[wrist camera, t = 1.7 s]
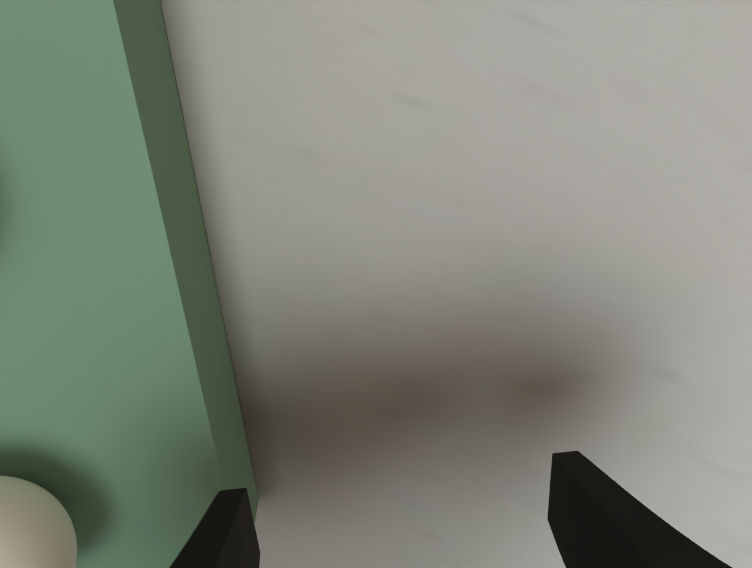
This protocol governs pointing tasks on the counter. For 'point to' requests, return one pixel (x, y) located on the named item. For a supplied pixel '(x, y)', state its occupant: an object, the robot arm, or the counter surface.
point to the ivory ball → (34, 528)
